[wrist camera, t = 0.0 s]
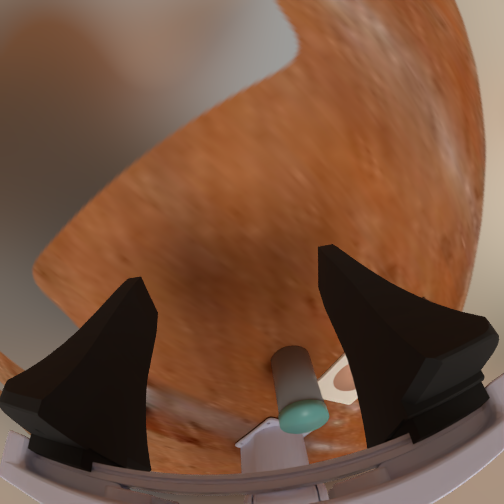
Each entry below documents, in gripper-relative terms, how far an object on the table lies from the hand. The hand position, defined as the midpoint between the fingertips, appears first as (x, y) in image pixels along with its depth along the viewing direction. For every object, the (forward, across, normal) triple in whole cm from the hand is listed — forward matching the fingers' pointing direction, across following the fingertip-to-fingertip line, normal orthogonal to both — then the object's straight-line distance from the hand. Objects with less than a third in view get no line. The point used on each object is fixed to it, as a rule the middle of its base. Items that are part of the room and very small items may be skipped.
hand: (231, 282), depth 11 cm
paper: (+7, -10, +22) cm, 26 cm away
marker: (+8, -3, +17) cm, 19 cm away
